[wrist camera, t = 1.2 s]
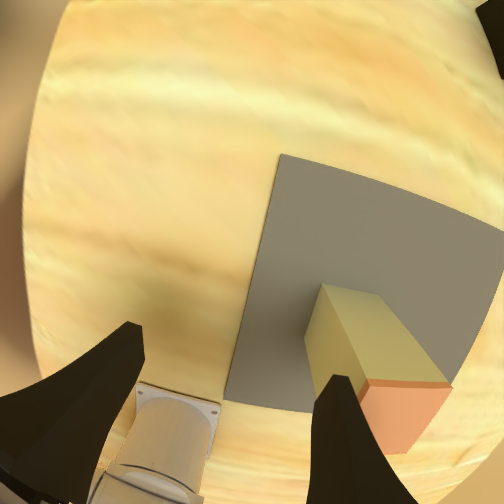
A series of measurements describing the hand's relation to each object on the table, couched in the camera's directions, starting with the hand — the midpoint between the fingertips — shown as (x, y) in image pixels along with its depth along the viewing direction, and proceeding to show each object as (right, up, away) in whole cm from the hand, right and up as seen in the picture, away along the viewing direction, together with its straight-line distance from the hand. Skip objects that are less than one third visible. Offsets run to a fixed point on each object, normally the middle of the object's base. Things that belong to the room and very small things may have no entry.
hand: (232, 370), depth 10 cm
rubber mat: (+11, -1, +11) cm, 16 cm away
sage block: (+7, 0, +11) cm, 13 cm away
